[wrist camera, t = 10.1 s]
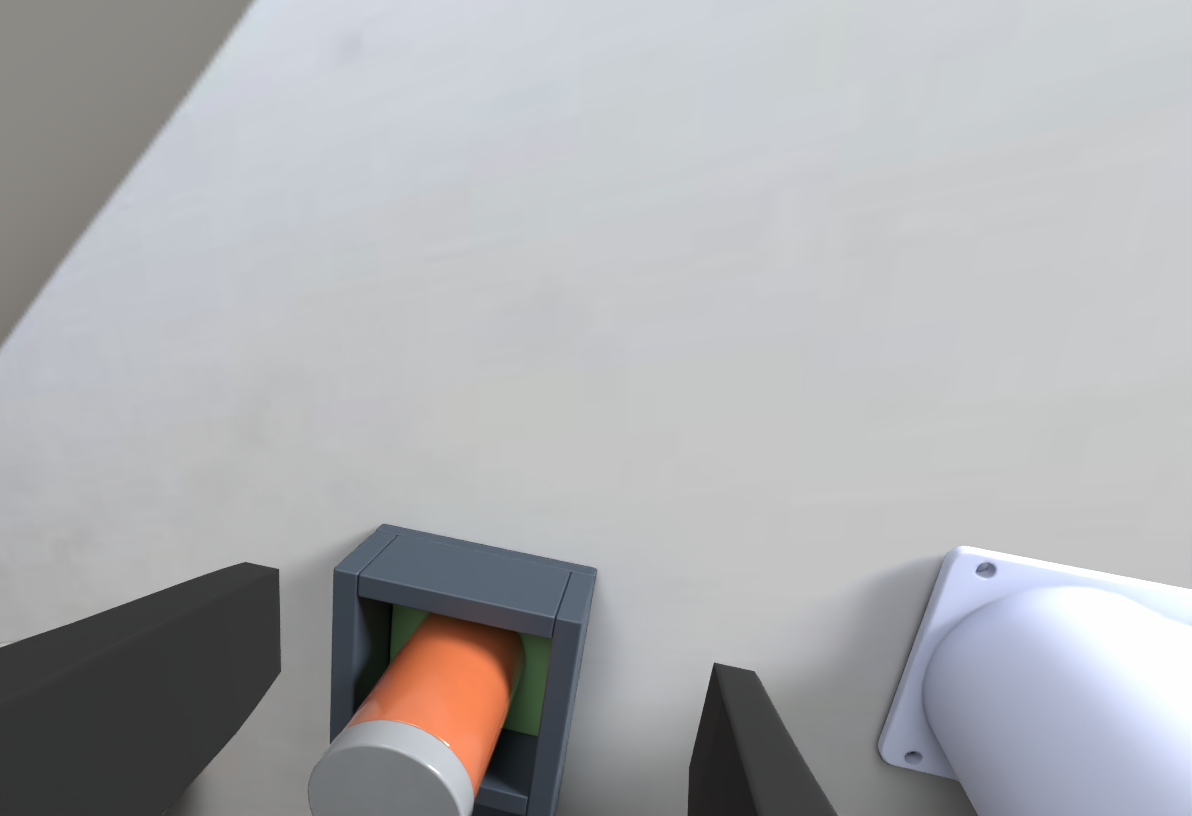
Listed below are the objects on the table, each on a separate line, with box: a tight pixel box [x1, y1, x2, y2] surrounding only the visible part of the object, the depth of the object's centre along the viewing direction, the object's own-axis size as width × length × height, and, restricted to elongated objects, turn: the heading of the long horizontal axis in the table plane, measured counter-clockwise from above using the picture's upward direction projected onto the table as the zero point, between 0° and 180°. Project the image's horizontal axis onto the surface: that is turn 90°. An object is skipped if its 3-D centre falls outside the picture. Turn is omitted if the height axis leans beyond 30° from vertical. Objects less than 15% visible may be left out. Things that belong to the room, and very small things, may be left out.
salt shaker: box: [308, 612, 525, 816], centre depth 17 cm, size 4×4×6 cm
